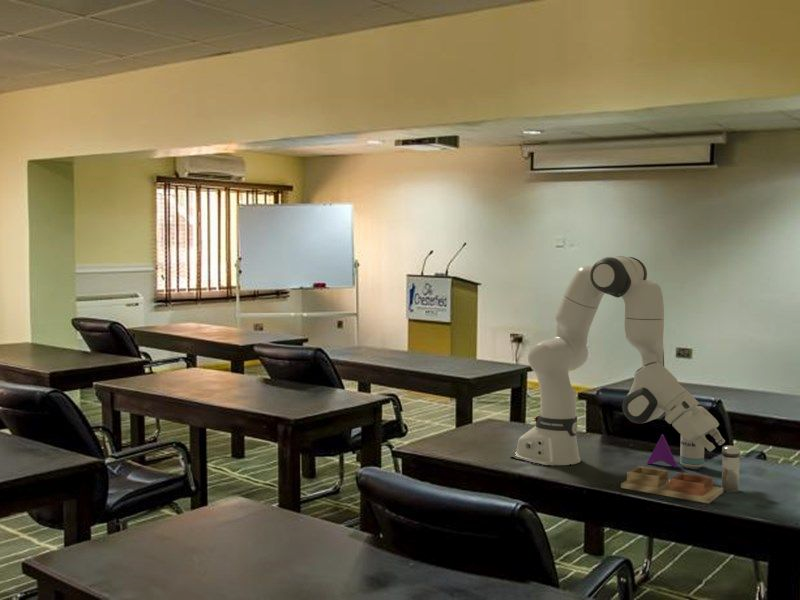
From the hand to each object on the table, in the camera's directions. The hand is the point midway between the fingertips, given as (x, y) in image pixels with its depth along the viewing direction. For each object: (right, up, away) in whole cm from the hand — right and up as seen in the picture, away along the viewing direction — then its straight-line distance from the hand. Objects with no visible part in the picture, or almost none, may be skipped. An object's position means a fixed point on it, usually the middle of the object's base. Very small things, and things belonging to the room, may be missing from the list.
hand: (718, 446), depth 221 cm
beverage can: (+1, -11, +23) cm, 26 cm away
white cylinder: (+3, -12, -1) cm, 12 cm away
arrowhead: (-7, -11, +26) cm, 29 cm away
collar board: (-13, -12, -1) cm, 18 cm away
